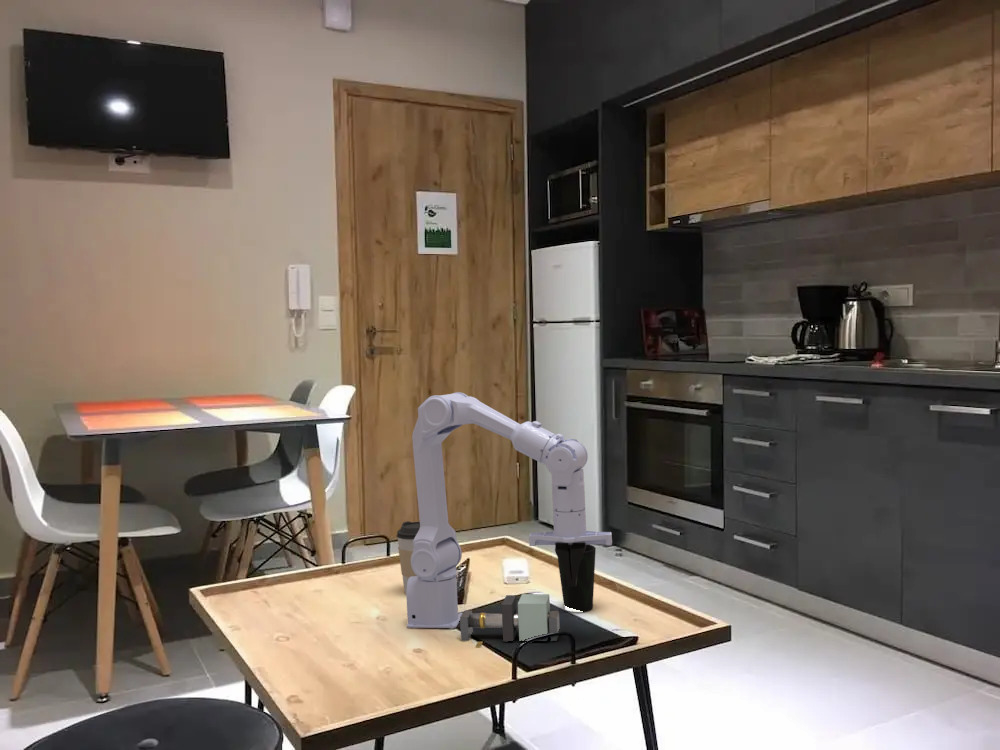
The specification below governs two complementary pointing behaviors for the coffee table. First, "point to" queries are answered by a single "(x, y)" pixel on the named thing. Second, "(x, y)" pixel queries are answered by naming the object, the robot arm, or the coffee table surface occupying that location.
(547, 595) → the sleeve
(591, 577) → the cup
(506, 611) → the dark grey flat block
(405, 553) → the coffee cup
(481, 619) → the grey shaft
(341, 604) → the coffee table surface
